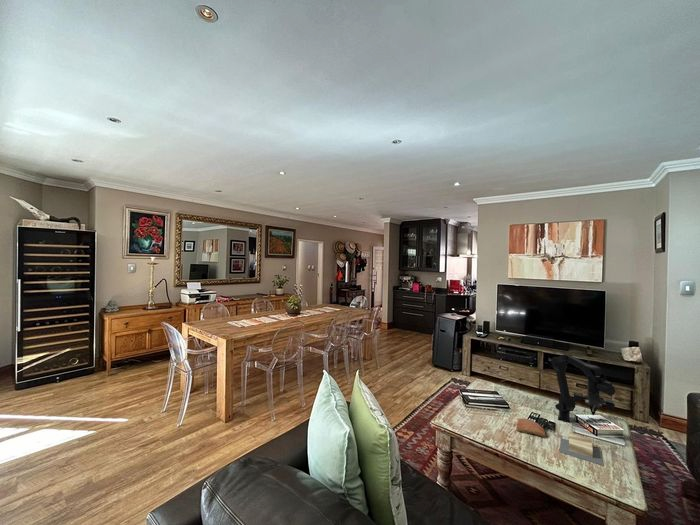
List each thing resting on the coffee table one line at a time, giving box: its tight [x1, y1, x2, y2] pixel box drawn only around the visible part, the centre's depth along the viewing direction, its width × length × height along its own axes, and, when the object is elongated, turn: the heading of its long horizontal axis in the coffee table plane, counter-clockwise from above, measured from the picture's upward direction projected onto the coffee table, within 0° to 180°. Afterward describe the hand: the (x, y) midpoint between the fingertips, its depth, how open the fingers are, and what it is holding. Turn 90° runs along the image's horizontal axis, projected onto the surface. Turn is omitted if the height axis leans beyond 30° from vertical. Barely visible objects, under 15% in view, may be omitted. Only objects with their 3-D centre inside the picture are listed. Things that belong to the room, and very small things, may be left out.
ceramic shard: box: [516, 418, 546, 439], centre depth 187 cm, size 15×6×15 cm
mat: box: [559, 437, 604, 466], centre depth 165 cm, size 16×18×1 cm
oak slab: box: [568, 432, 594, 458], centre depth 168 cm, size 4×10×13 cm
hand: (593, 414), depth 180 cm, fingers closed
